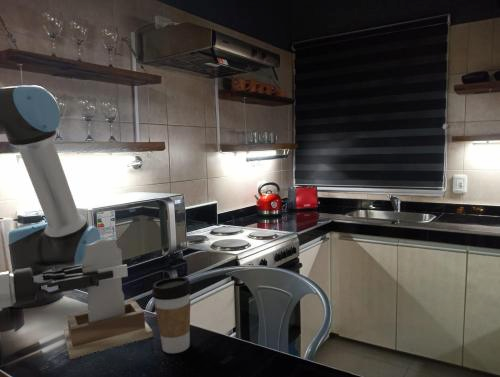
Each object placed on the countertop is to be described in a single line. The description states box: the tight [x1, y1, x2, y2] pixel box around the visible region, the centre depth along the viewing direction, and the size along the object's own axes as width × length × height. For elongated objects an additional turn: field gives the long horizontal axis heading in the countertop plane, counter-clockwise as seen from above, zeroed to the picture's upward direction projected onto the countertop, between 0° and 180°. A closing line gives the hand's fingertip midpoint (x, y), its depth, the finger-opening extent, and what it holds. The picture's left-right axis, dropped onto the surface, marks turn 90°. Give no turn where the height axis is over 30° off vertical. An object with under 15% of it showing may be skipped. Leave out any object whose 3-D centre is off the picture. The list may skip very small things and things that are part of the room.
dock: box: [63, 300, 154, 360], centre depth 97 cm, size 14×18×6 cm
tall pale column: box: [82, 238, 126, 323], centre depth 97 cm, size 11×4×22 cm, turn 144°
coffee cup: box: [151, 276, 192, 354], centre depth 90 cm, size 8×8×15 cm
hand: (124, 267), depth 99 cm, fingers open, 5 cm apart
